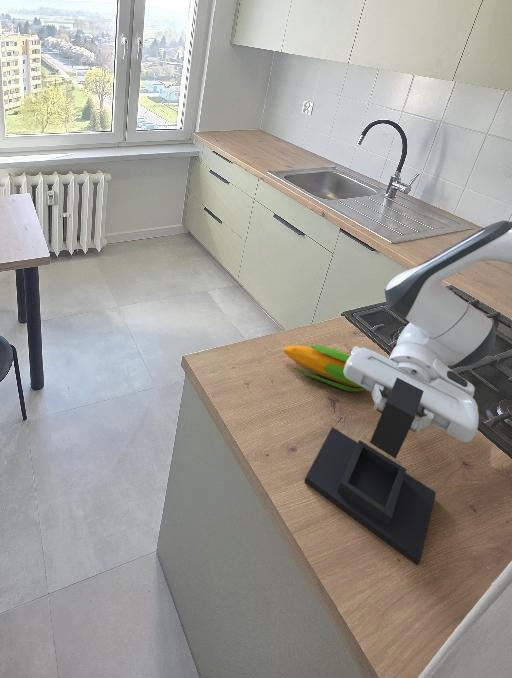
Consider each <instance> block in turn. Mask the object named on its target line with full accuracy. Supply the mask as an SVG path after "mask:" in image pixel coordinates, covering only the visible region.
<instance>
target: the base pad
mask: <svg viewBox="0 0 512 678" xmlns="http://www.w3.org/2000/svg"><path fill="white" fill-rule="evenodd" d="M406 472H407V469H406V468H405V467H404V466H402V465H400V464H399V463H397V462H396V461H394V460H392V459H391V458H390V457H388V456H386V455H385V454H383V453H382V452H380V451H378V450H376V449H375V448H373V447H371V446H370V445H368V444H367V443H365V442H363V440H360V439H359V440H358V442H357V441H355V440H354V439H352V438H351V437H349V436H347V435H346V434H345V433H343V432H341V431H339V430H338V429H336V428H335V427H333V426H331V428H330V430H329V432H328V434H327V436H326V438H325V440H324V442H323V443H322V445H321V447H320V449H319V451H318V453H317V455H316V457H315V459H314V461H313V462H312V465H311V466H310V468H309V470H308V471H307V473H306V475H305V477H304V481H303V483H304V484H306V485H307V486H309V487H310V488H312V489H313V490H314V491H316V492H317V493H318V494H319V495H320V496H322V497H323V498H325V499H326V500H328V501H329V502H330V503H331V504H333V505H334V506H336V507H337V508H338V509H340V510H341V511H342V512H344V513H345V514H347V516H349V517H350V518H352V519H354V520H355V521H356V522H357V523H359V524H360V525H362V526H363V527H364V528H366V529H367V530H368V531H370V532H371V533H373V534H374V535H375V536H376V537H377V538H379V539H380V540H382V541H383V542H384V543H386V544H387V545H389V546H390V547H391V548H393V549H394V550H396V551H397V552H399V554H401V555H402V556H404V557H405V558H406V559H408V560H409V561H410V562H412V563H413V564H415V565H416V566H418V565H419V564H420V561H421V560H422V555H423V552H424V551H423V550H424V545H425V541H426V537H427V533H428V530H429V529H428V528H429V525H430V520H431V515H432V512H433V507H434V502H435V500H436V499H435V498H436V494H437V493H436V491H435V490H433V489H432V488H430V487H429V486H427V485H425V484H424V483H422V482H421V481H419V480H417V479H416V478H414V477H413V476H411V475H409V474H408V473H406Z"/></svg>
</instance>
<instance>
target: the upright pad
mask: <svg viewBox="0 0 512 678" xmlns="http://www.w3.org/2000/svg"><path fill="white" fill-rule="evenodd" d="M423 392H424V391H423V390H421V389H419V388H417V387H415V386H413V385H411V384H409V383H407V382H405V381H403V380H401V379H399V378H397V379H396V381H395V383H394V386H393V388H392V390H391V393H390V395H389V397H388V400H386V401H387V402H386V404H385V407H384V409H383V412H382V413H380V416H379V419H378V422H377V424H376V426H375V429H374V431H373V434H372V435H371V438H370V440H369V443H370V444H371V445H373V446H374V447H376V448H377V449H379V450H380V451H382V452H384V453H386V454H387V455H389V456H390V457H392V458H394V459H397V457H398V455H399V453H400V451H401V449H402V446H403V444H404V442H405V440H406V438H407V435H408V434H409V431H410V427H411V425H412V423H413V420H414V418H415V417H416V413H417V410H418V407H419V404H420V401H421V398H422V395H423Z"/></svg>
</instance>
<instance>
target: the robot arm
mask: <svg viewBox="0 0 512 678" xmlns="http://www.w3.org/2000/svg"><path fill="white" fill-rule="evenodd" d="M485 261H493V262H494V261H495V262H500V263H501V262H502V263H506V264H511V265H512V221H508V220H499V221H496V222H494V223H491V224H490V225H487V226H485V227H483V228H481V229H479V230H477V231H475V232H473V233H472V234H470V235H468V236H466V237H464V238H462V239H460V240H459V241H457V242H456V243H453V244H451V245H450V246H449V247H447V248H446V249H444V250H442V251H440V252H439V253H437V254H435V255H434V256H431V257H430V258H428V259H427V260H425V261H423V262H421V263H419V264H417V265H414V266H413V267H411V268H409V269H406V270H405V271H403V272H400V273H398V274H397V275H396V276H394V277H393V278H392V279H391V280H390V281H389V282H388V284H387V285H386V286H385V288H384V297H385V301H386V304H387V307H388V309H389V310H391V311H392V312H394V313H395V314H396V315H398V316H399V317H401V319H404V320H406V321H407V322H409V323H408V324H407V325H406V326H405V327H404V328H403V329H402V331H401V333H400V334H399V336H398V338H397V340H396V345H395V346H394V348H393V349H392V351H391V352H390V355H389V357H387V356H385V355H383V354H381V353H379V352H376V351H374V350H372V349H370V348H369V347H367V346H363V347H361V346H357V345H355V346H354V347H353V348H352V349H351V351H350V357H349V358H348V360H347V362H346V364H345V367H344V370H343V373H344V375H345V377H346V378H347V379H349V380H350V381H352V382H354V383H356V384H358V385H360V386H361V387H363V388H365V390H367V391H368V392H371V397H372V400H373V402H374V406H373V408H372V410H375V411H377V412H378V413H380V414H382V412H383V409H384V407H385V404H386V402H387V400H388V397H389V395H390V393H391V390H392V388H393V386H394V383H395V381H396V379H397V378H399V379H401V380H403V381H405V382H407V383H409V384H411V385H413V386H415V387H417V388H419V389H421V390H423V391H424V392H423V395H422V398H421V401H420V404H419V407H418V410H417V413H416V416H415V418H414V420H413V423H412V425H411V427H410V429H409V431H411V432H413V433H415V434H417V435H419V433H420V431H421V429H425V428H429V427H430V426H433V427H434V428H436V429H438V430H440V431H442V432H443V433H445V434H447V435H449V436H450V437H453V438H454V439H456V440H458V441H459V442H460V443H461V442H462V443H470V442H472V441H473V439H474V438H475V435H476V434H477V431H478V428H479V421H480V419H479V416H480V415H479V406H478V403H477V401H476V400H475V398H474V394H475V390H476V387H475V386H474V384H473V383H471V382H469V381H468V380H467V379H465V378H463V377H462V376H461V375H459V374H458V373H456V372H455V371H454V370H452V369H451V368H460V367H468V366H471V365H474V364H476V363H479V362H480V361H481V360H483V359H484V358H486V357H487V355H488V354H489V353H490V352H491V351H492V349H493V347H494V345H495V342H496V336H497V335H496V334H497V333H496V332H497V331H496V326H495V323H494V321H493V320H491V319H490V318H489V317H488V316H486V315H485V314H483V313H482V312H481V311H480V310H478V309H477V308H475V307H474V306H473V305H472V304H470V303H469V302H466V300H464V299H462V298H461V297H460V296H458V295H457V294H456V293H454V292H453V291H451V289H449V288H448V287H447V286H445V285H444V284H443V283H442V282H443V281H445V280H446V279H448V278H451V277H452V276H454V275H456V274H457V273H460V272H461V271H464V270H465V269H467V268H469V267H471V266H472V265H474V264H477V263H480V262H485ZM449 367H451V368H449Z"/></svg>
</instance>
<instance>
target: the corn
mask: <svg viewBox="0 0 512 678" xmlns="http://www.w3.org/2000/svg"><path fill="white" fill-rule="evenodd" d="M283 354H284V355H286V356H287V357H288V358H289V359H291V360H292V361H293V362H295V364H297V365H299V366H301V367H303V368H305V369H307V370H309V371H311V372H313V373H315V374H317V375H319V376H317V375H314V374H312V373H309V372H306V371H304V370H302V369H300V368H297V367H293V369H294V370H295V371H298V372H300V373H301V374H304V375H306V376H309V377H311V378H313V379H316V380H317V381H320V382H323V383H326V384H328V385H329V386H333V387H335V388H337V389H340V390H343V391H345V392H363V391H364V390H365V391H366V389H365V388H363V387H361V386H360V385H358V384H356V383H354V382H352V381H350V380H349V379H347V378H346V377H345V375H344V373H343V370H344V367H345V364H346V362H347V360H348V358H349V357H350V356H351V354H348V353H345V352H343V351H340V350H338V349H335V348H331V347H328V346H321V345H313V344H312V345H310V346H307V345H292V344H291V345H288V346H285V347H283ZM320 376H322V377H320ZM323 377H324V378H323Z"/></svg>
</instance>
